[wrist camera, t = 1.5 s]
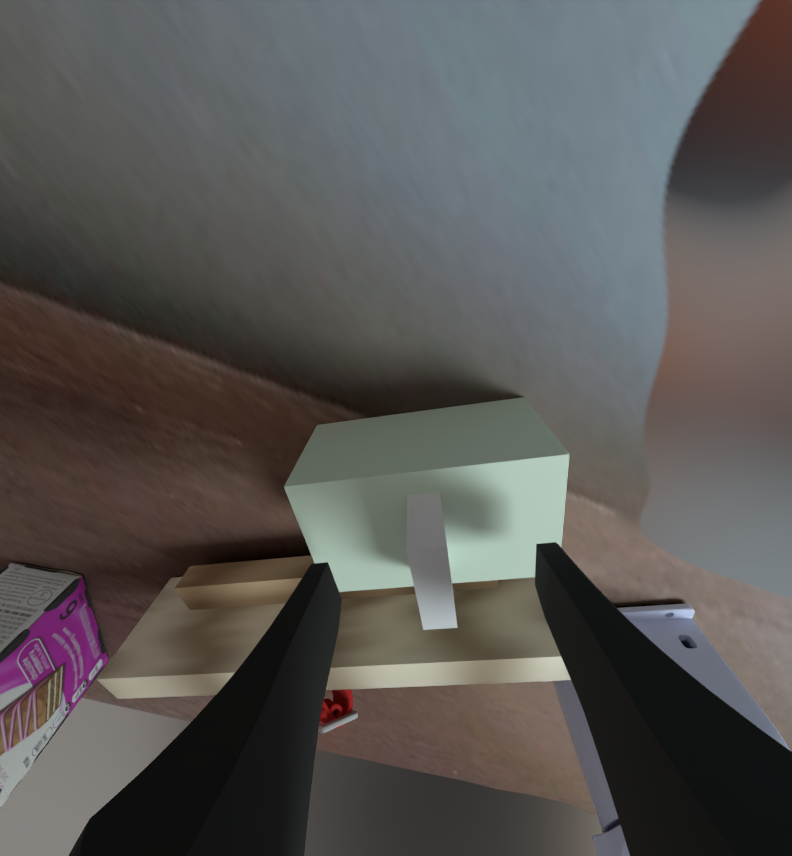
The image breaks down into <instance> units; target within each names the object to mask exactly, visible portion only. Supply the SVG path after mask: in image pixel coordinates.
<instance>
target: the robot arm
mask: <svg viewBox="0 0 792 856" xmlns="http://www.w3.org/2000/svg"><path fill="white" fill-rule="evenodd" d="M535 587H536V590H537V594H538V597H539V600H540V604H541V607H542V610H543V613H544V616H545V619H546V621H547V624H548V626H549V629H550V631H551V633H552V636H553V638H554V641H555V643H556V645H557V648H558V650H559V653H560V655H561V657H562V660H563V662H564V664H565V667H566V669H567V672H568V674H569V676H570V679H571V680H561V681H553V684H554V687H555V690H556V693H557V696H558V699H559V702H560V705H561V708H562V711H563V714H564V717H565V720H566V723H567V726H568V729H569V732H570V735H571V738H572V741H573V744H574V747H575V750H576V753H577V757H578V760H579V763H580V766H581V769H582V772H583V775H584V778H585V781H586V784H587V787H588V790H589V793H590V796H591V799H592V802H593V805H594V808H595V811H596V814H597V817H598V820H599V823H600V826H601V829H602V832H603V833H602V834H598V835H594V836H592V839H593V842H594V845H595V849H596V852H597V855H598V856H792V752H791V751H790V749H789V748H788V746H787V744H786V743H785V741H784V740H783V738H782V737H781V735H780V733H779V732H778V730H777V729H776V728H775V726H774V725H773V724H772V722H771V721H770V720H769V718H768V717H767V716H766V714H765V713H764V712H763V710H762V709H761V708H760V707H759V705H758V704H757V703H756V701H755V700H754V699H753V697H752V696H751V695H750V694H749V692H748V691H747V690H746V688H745V687H744V686H743V684H742V683H741V682H740V680H739V679H738V678H737V677H736V675H735V674H734V673H733V671H732V670H731V669H730V667H729V666H728V665H727V664H726V662H725V661H724V660H723V658H722V657H721V656H720V654H719V653H718V652H717V651H716V649H715V648H714V647H713V645H712V644H711V643H710V641H709V640H708V639H707V638H706V636H705V635H704V634H703V632H702V631H701V630H700V628H699V627H698V626H697V625H696V623H695V622H694V621H693V619H692V618H693V615H694V612H695V611H694V610H693V608H692V607H691V606H690V605H689V604H671V605H655V606H639V607H624V608H616V607H615V606H614V605H613V604H612V603H611V602H610V601H609V600H608V599H607V598H606V597H605V596H604V595H603V594H602V592H601V591H600V590H599V589H598V588H597V587H596V586H595V585H594V584H593V583H592V582H591V581H590V580H589V579H588V578H587V577H586V575H585V574H584V573H583V572H582V571H581V570H580V569H579V568H578V567H577V565H576V564H575V563H574V562H573V561H572V560H571V559H570V557H569V556H568V555H567V554H566V553H565V552H564V550H563V549H562V548H561V547H560V546H559V544H557V543H556V542H552V543H541V544H536V566H535ZM341 602H342V598H341V596H340V593H339V590H338V588H337V585H336V582H335V580H334V577H333V574H332V572H331V569H330V566H329V564H328V562H325V563H314V564H311V565H310V566H309V568H308V569H307V571H306V572H305V574H304V576H303V577H302V579H301V580H300V582H299V584H298V585H297V587H296V588H295V590H294V591H293V593H292V594H291V596H290V598H289V599H288V601H287V602H286V604H285V605H284V607H283V608H282V610H281V611H280V612H279V614H278V615H277V617H276V618H275V620H274V621H273V623H272V624H271V626H270V627H269V628H268V630H267V631H266V633H265V634H264V635H263V637H262V638H261V639H260V641H259V642H258V643H257V645H256V646H255V648H254V649H253V650H252V652H251V653H250V654H249V656H248V657H247V658H246V659H245V661H244V662H243V663H242V664H241V666H240V667H239V668H238V669H237V671H236V672H235V673H234V674H233V676H232V677H231V678H230V679H229V680H228V682H227V683H226V684H225V685H224V686H223V688H222V689H221V690H220V691H219V692H218V693H217V694H216V695H215V697H214V698H213V699H212V700H211V701H210V702H209V703H208V704H207V706H206V707H205V708H204V709H203V710H202V711H201V712H200V713H199V714H198V716H197V717H196V718H195V719H194V720H193V721H192V722H191V723H190V724H189V725H188V726H187V727H186V728H185V729H184V731H182V732H181V733H180V734H179V735H178V736H177V737H176V738H175V739H174V740H173V741H172V742H171V743H170V744H169V745H168V746H167V747H166V749H164V750H163V751H162V752H161V754H160V755H159V756H157V757H156V759H155V760H153V761H152V762H151V763H150V764H149V765H148V766H147V767H146V768H145V769H144V770H143V771H142V772H141V773H140V774H139V775H138V776H137V777H135V779H133V780H132V781H131V782H130V783H129V784H128V785H127V786H126V787H125V788H123V789H122V790H121V791H120V792H119V793H118V794H117V795H116V796H115V797H114V798H112V799H111V800H110V801H109V802H108V803H107V804H106V805H105V806H104V807H103V808H102V809H100V810H99V811H98V812H97V813H96V814H95V815H94V816H92V817H91V818H90V820H89V821H88V823H87V825H86V826H85V828H84V830H83V831H82V833H81V835H80V837H79V838H78V840H77V842H76V844H75V845H74V847H73V849H72V851H71V853H70V854H69V856H304V850H305V840H306V830H307V820H308V809H309V800H310V792H311V784H312V775H313V766H314V758H315V751H316V744H317V736H318V729H319V722H320V716H321V711H322V705H323V700H324V696H325V691H326V687H327V682H328V677H329V673H330V668H331V664H332V659H333V654H334V650H335V645H336V640H337V635H338V630H339V622H340V613H341Z"/></svg>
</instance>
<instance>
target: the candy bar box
mask: <svg viewBox="0 0 792 856" xmlns="http://www.w3.org/2000/svg"><path fill="white" fill-rule="evenodd" d="M107 663H108V657H107V654H106V651H105V648H104V645H103V642H102V639H101V635H100V632H99V629H98V626H97V622H96V619H95V616H94V613H93V610H92V606H91V603H90V599H89V596H88V593H87V589H86V586H85V583H84V580H83V577H82V575H79V574H76V573H72V572H68V571H62V570H54V569H49V568H42V567H36V566H31V565H26V564H19V563H10V564H9V565H7V566H6V567H5V568H4V569H2V570H1V571H0V808H1V806H2V805H3V804H4V802H5V801H6V800H7V798H8V797H9V796H10V794H11V793H12V791H13V790H14V789H15V787H16V786H17V785H18V783H19V782H20V781H21V780H22V778H23V777H24V776H25V774H26V773H27V772H28V770H29V769H30V767H31V766H32V764H33V763H34V762H35V760H36V759H37V757H38V756H39V755H40V753H41V752H42V750H43V749H44V748H45V746H46V745H47V744H48V743H49V741H50V740H51V738H52V737H53V736H54V734H55V733H56V732H57V730H58V729H59V727H60V726H61V725H62V723H63V722H64V721H65V719H66V718H67V717H68V715H69V714H70V713H71V711H72V710H73V708H74V707H75V706H76V704H77V703H78V701H79V700H80V699H81V697H82V696H83V695H84V693H85V692H86V691H87V689H88V688H89V687H90V685H91V684H92V683H93V681H94V680H95V679H96V677H97V676H98V674H99V673H100V672H101V670H102V669H103V668H104V666H105V665H106V664H107Z"/></svg>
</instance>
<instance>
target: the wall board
mask: <svg viewBox="0 0 792 856" xmlns="http://www.w3.org/2000/svg"><path fill="white" fill-rule="evenodd" d="M311 564H314V561H313V558H312V556H311V555H310V556H299V557H288V558H277V559H265V560H254V561H243V562H232V563H220V564H209V565H198V566H190V567H189V568H188V570H187V571H186V572H185V574H184V575H183V577H174V578H171V579H170V580H169V581H168V583H167V584H166V585H165V587H164V588H163V589H162V591H161V592H160V593H159V595H158V596H157V598H156V599H155V600H154V602H153V603H152V604H151V606H150V607H149V608H148V610H147V611H146V612H145V614H144V615H143V617H142V618H141V619H140V621H139V622H138V623H137V625H136V626H135V627H134V629H133V630H132V632H131V633H130V634H129V636H128V637H127V638H126V640H125V641H124V642H123V644H122V645H121V646H120V648H119V649H118V651H117V652H116V653H115V655H114V656H113V657H112V659H111V660H110V661H109V663H108V664H107V665H106V667H105V668H104V670H103V671H102V672H101V674H100V675H99V676H98V678H97V680H98V681H99V682H100V683H101V684H102V685H103V686H104V687H105V688H106V689H107V690H109V691H110V692H111V693H112V694H113V695H114V696H115V697H116V698H117V699H127V698H151V697H175V696H199V695H216V694H217V693H218V692H219V691H220V690H221V689H222V688H223V686H224V685H225V684H226V683H227V682H228V680H229V679H230V678H231V677H232V676H233V674H234V673H235V672H236V671H237V669H238V668H239V667H240V666H241V664H242V663H243V662H244V661H245V659H246V658H247V657H248V656H249V654H250V653H251V652H252V650H253V649H254V648H255V646H256V645H257V643H258V642H259V641H260V639H261V638H262V637H263V635H264V634H265V633H266V631H267V630H268V628H269V627H270V626H271V624H272V623H273V621H274V620H275V618H276V617H277V615H278V614H279V612H280V611H281V610H282V608H283V607H284V605H285V604H286V602H287V601H288V599H289V598H290V596H291V594H292V593H293V591H294V590H295V588H296V587H297V585H298V584H299V582H300V580H301V579H302V577H303V576H304V574H305V572H306V571H307V569H308V568H309V566H310V565H311ZM452 587H453V595H454V603H455V611H456V619H457V627H458V628H446V629H430V630H423V626H422V621H421V616H420V612H419V607H418V602H417V598H416V593H415V588H414V586H412V587H399V588H385V589H372V590H359V591H346V592H339V593H340V596H341V598H342V602H341V613H340V622H339V630H338V635H337V640H336V645H335V650H334V654H333V659H332V664H331V668H330V673H329V677H328V682H327V687H326V690H344V689H368V688H392V687H417V686H441V685H465V684H489V683H513V682H537V681H561V680H571V679H570V676H569V674H568V672H567V669H566V667H565V664H564V662H563V660H562V657H561V655H560V653H559V650H558V648H557V645H556V643H555V641H554V638H553V636H552V633H551V631H550V629H549V626H548V624H547V621H546V619H545V616H544V613H543V610H542V607H541V604H540V600H539V597H538V594H537V590H536V587H535V577H530V578H517V579H504V580H491V581H478V582H464V583H452Z"/></svg>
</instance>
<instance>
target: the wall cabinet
mask: <svg viewBox="0 0 792 856" xmlns="http://www.w3.org/2000/svg"><path fill="white" fill-rule="evenodd" d="M569 455H570V454H569V453H568V452H567V450H566V449H565V448H564V446H563V445H562V444H561V443H560V441H559V440H558V439H557V438H556V436H555V435H554V434H553V432H552V431H551V430H550V429H549V427H548V426H547V425H546V424H545V422H544V421H543V420H542V418H541V417H540V416H539V415H538V413H537V412H536V411H535V410H534V408H533V407H532V406H531V405H530V403H529V402H528V401H527V399H526V398H525V397H521V398H514V399H506V400H499V401H491V402H484V403H477V404H469V405H462V406H454V407H447V408H439V409H432V410H424V411H417V412H410V413H402V414H395V415H387V416H380V417H372V418H365V419H357V420H350V421H343V422H335V423H328V424H320V425H317V426H316V428H315V430H314V432H313V433H312V435H311V437H310V439H309V441H308V443H307V445H306V446H305V448H304V450H303V452H302V454H301V456H300V458H299V459H298V461H297V463H296V465H295V467H294V469H293V471H292V472H291V474H290V476H289V478H288V480H287V482H286V484H285V485H284V489H285V491H286V494H287V496H288V499H289V501H290V504H291V506H292V509H293V511H294V513H295V516H296V518H297V521H298V523H299V526H300V528H301V531H302V533H303V536H304V538H305V541H306V543H307V546H308V548H309V551H310V553H311V556H312V558H313V561H314V563H325V562H328V564H329V566H330V569H331V572H332V574H333V577H334V580H335V582H336V585H337V588H338V590H339V592H346V591H359V590H372V589H385V588H399V587H412V586H414V588H415V593H416V598H417V602H418V607H419V612H420V616H421V621H422V626H423V630H430V629H446V628H458V627H457V619H456V611H455V603H454V595H453V587H452V583H464V582H478V581H491V580H504V579H517V578H530V577H535V566H536V544H541V543H552V542H556V543H557V544H559V546H560V547H561V544H562V533H563V522H564V511H565V499H566V488H567V477H568V466H569Z"/></svg>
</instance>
